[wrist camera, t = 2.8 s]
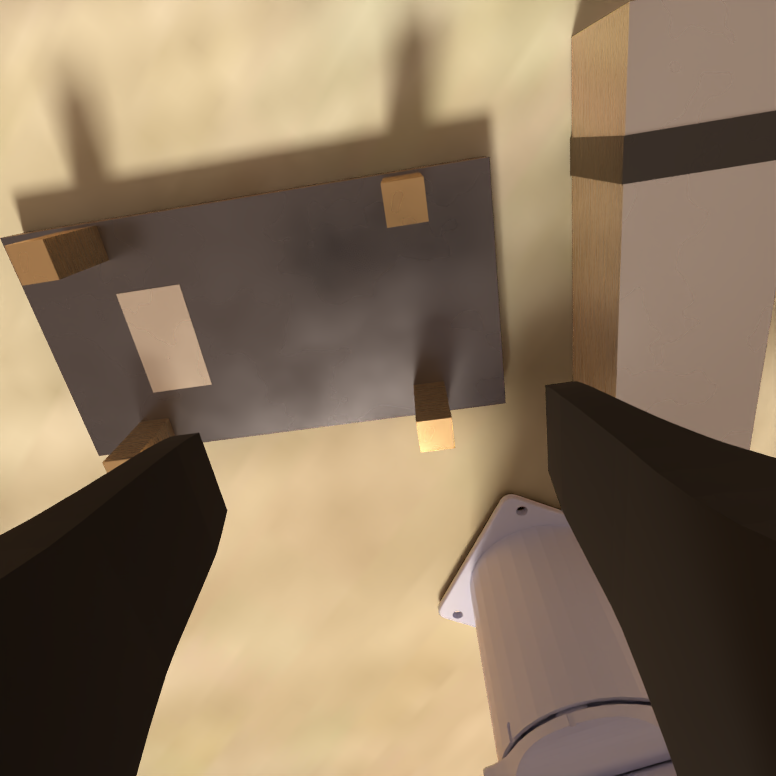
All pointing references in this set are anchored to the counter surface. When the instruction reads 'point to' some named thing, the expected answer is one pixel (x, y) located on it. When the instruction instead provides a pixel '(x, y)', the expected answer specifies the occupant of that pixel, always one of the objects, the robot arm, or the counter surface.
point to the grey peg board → (276, 310)
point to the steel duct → (675, 208)
